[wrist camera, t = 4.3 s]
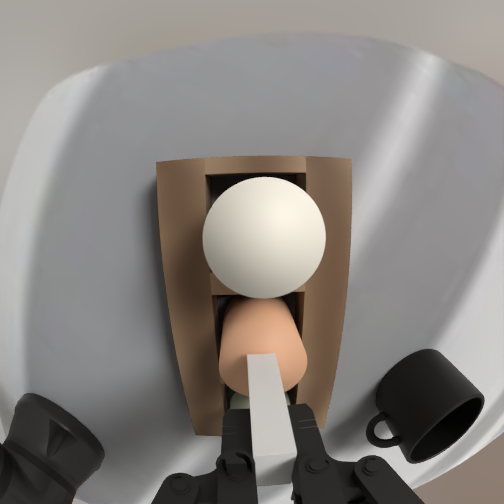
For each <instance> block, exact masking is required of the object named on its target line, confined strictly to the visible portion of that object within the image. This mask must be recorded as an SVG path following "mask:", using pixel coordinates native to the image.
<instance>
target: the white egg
mask: <svg viewBox="0 0 504 504" xmlns="http://www.w3.org/2000/svg"><path fill="white" fill-rule="evenodd" d="M325 241H326V232H325V225H324V221H323V218H322V215H321V213H320V211H319V208H318V207H317V205H316V204H315V202H314V201H313V200H312V198H311V197H310V196H309V195H308V194H307V193H306V192H305V191H303V190H302V189H301V188H299V187H298V186H296V185H294V184H292V183H290V182H288V181H285V180H282V179H278V178H273V177H257V178H252V179H247V180H245V181H242V182H239V183H237V184H235V185H234V186H232V187H230V188H229V189H228V190H226V191H225V192H224V193H223V194H222V195H221V196H220V197H219V198H218V199H217V200H216V201H215V203H214V204H213V205H212V207H211V209H210V210H209V213H208V215H207V217H206V220H205V224H204V228H203V249H204V254H205V257H206V260H207V262H208V265H209V267H210V268H211V270H212V272H213V273H214V274H215V276H216V277H217V278H218V279H219V280H220V281H221V282H222V283H223V284H224V285H225V286H227V287H228V288H229V289H231V290H233V291H235V292H236V293H239V294H241V295H244V296H248V297H252V298H263V299H267V298H275V297H279V296H283V295H285V294H288V293H290V292H292V291H294V290H296V289H297V288H299V287H300V286H302V285H303V284H304V283H305V282H306V281H307V280H308V279H309V278H310V277H311V276H312V275H313V273H314V272H315V270H316V269H317V267H318V265H319V263H320V262H321V259H322V256H323V253H324V249H325Z"/></svg>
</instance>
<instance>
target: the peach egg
mask: <svg viewBox="0 0 504 504" xmlns="http://www.w3.org/2000/svg"><path fill="white" fill-rule="evenodd" d="M267 353H276V357H277V362H278V366H279V371H280V376H281V380H282V385H283V389H284V392H286V391H288V390H289V389H291V388H292V387H294V386H295V385H296V384H297V383H298V382H299V381H300V380H301V378H302V377H303V375H304V373H305V371H306V368H307V354H306V351H305V349H304V346H303V344H302V341H301V338H300V336H299V333H298V330H297V328H296V325H295V323H294V320H293V318H292V315H291V312H290V310H289V307H288V305H287V303H286V302H285V300H284V299H283V298H282V297H281V296H279V297H275V298H267V299H263V298H252V297H248V296H244V295H241V294H238V295H236V296H235V297H234V298H233V299H232V300H231V301H230V302H229V304H228V306H227V308H226V310H225V314H224V322H223V331H222V339H221V348H220V357H219V372H220V375H221V377H222V379H223V381H224V382H225V383H226V384H227V385H228V386H229V387H230V388H231V389H232V390H234V391H236V392H237V393H240V394H242V395H245V396H249V387H248V364H247V354H267Z"/></svg>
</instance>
